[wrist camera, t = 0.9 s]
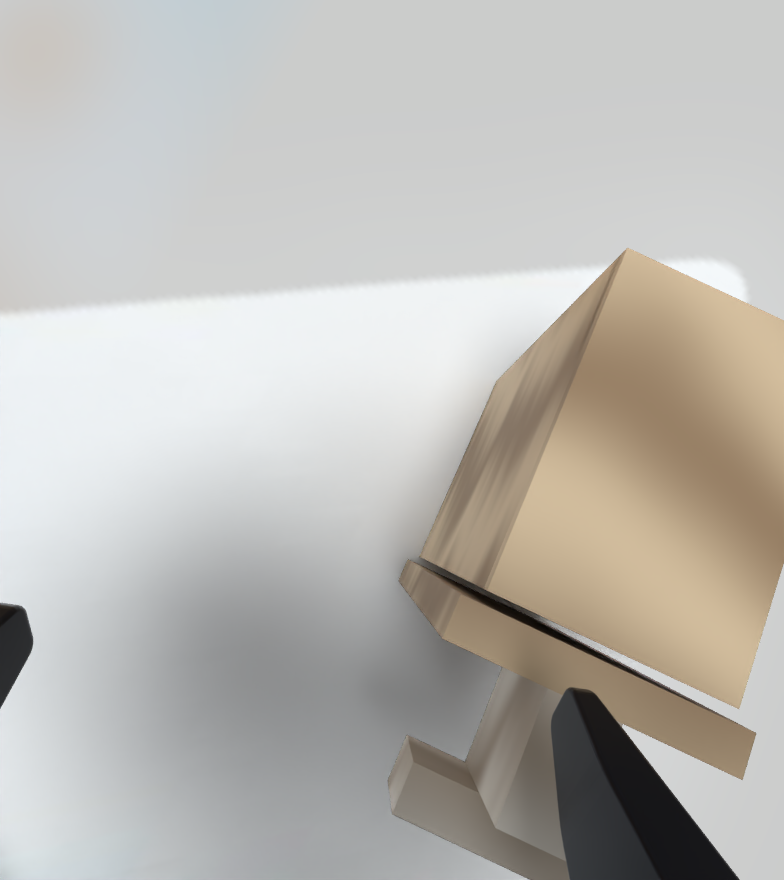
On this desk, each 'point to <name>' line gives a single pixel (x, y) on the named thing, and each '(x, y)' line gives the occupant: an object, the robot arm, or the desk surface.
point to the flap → (531, 730)
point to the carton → (634, 476)
